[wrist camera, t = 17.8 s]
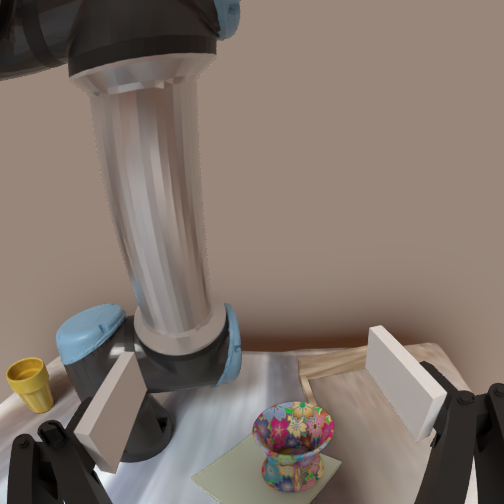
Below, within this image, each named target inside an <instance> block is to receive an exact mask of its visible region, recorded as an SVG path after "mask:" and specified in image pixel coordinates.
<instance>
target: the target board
mask: <svg viewBox="0 0 504 504" xmlns="http://www.w3.org/2000/svg"><path fill="white" fill-rule="evenodd" d="M320 457H321V458H322V460H323V463H324V473H323V475H322V477H321V479H320V480H319V481H318V482H317V483H316V484H315V485H314V486H312V487H310V488H308V489H306V490H303V491H299V492H283V491H279V490H276V489H274V488H272V487H271V486H269V485H268V484H267V483H266V481H265V480H264V478H263V476H262V465H263V462H264V461H265V459H266V458H267V456H266V453H265V452H264V451H263V450H262V449H261V448H259V446H258V445H257V444H256V442H255V440H254V438H253V433H251V434H250V435H249V436H248V437H246V438H245V439H244V440H243V441H241V442H240V443H239V444H237V445H236V446H235V447H234V448H232V449H231V450H230V451H228V452H227V453H226V454H224V455H223V456H222V457H220V458H219V459H217V460H216V461H215V462H213V463H212V464H210V465H209V466H208V467H206V468H205V469H203V470H202V471H200V472H199V473H197V474H196V475H194V476H193V477H191V479H192V481H193V482H194V483H196V484H197V485H198V486H199V487H200V488H202V489H203V490H204V491H205V492H207V493H208V494H209V495H210V496H212V497H213V498H214V499H216V500H217V501H218V502H220V503H221V504H310V502H311V501H312V500H313V499H314V498H315V497H316V496H317V494H318V493H319V492H320V491H321V490H322V489H323V487H324V486H325V485H326V484H327V482H328V481H329V480H330V479H331V477H332V476H333V475H334V474H335V472H336V471H337V470H338V468H339V467H340V466H341V463H342V461H339V460H336V459H334V458H331V457H329V456H326V455H324V454H321V453H320Z"/></svg>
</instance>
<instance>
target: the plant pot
mask: <svg viewBox="0 0 504 504" xmlns="http://www.w3.org/2000/svg"><path fill="white" fill-rule="evenodd" d="M6 378H7V380H8V382H9V384H10V386H11V388H12V389H13V391H14V392H16V393H18V394H19V396H20V397H21V398H22V399H23V401H24V402H25V403H26V404H27V405H28V407H29V408H30V409H31V410H32V411H33V412H35V413H44V412H46V411H48V410H49V409H51V407H52V406H53V404H54V400H53V397H52V393H51V390H50V386H49V382H48V379H49V374H48V372H47V369H46V367H45V364H44V362H43V361H42V360H41V359H39V358H35V357H32V358H31V357H30V358H25V359H22V360H19V361H17V362H16V363H14V364H13V365H11V366H10V367H9V368H8V370H7V371H6Z"/></svg>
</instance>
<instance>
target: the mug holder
mask: <svg viewBox="0 0 504 504" xmlns="http://www.w3.org/2000/svg"><path fill="white" fill-rule="evenodd" d="M367 348H368V345H367V346H363V347H358V348H353V349H348V350H343V351H338V352H332V353H327V354H321V355H315V356H309V357H303V358H298V372H299V380H300V383H301V386H302V390H303V393H304V396H305V399H306V402H307V403H310V404H314V405H316V406H317V404H316V401H315V398H314V396H313V393H312V390H311V388H310V385H309V382H308V380H309V379H315V378H320V377H326V376H331V375H336V374H341V373H345V372H350V371H354V370H359V369H363V368H366V367H365V364H366V356H367Z"/></svg>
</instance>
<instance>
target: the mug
mask: <svg viewBox="0 0 504 504" xmlns="http://www.w3.org/2000/svg"><path fill="white" fill-rule="evenodd" d="M252 433H253V438H254V440H255V442H256V444H257V445H258V446H259V448H261V449H262V450H263V451H264V452H265V453H266V456H267V458H266V459H265V461H264V462H263V465H262V476H263V478H264V480H265V481H266V483H267V484H268V485H269V486H271V487H272V488H274V489H276V490H279V491H283V492H299V491H303V490H306V489H308V488H310V487H312V486H314V485H315V484H316V483H317V482H318V481H319V480H320V479H321V477H322V475H323V473H324V463H323V460H322V458H321V457H320V452H321V450H322V449H323V448H324V447H325V446H326V445H327V444H328V443H329V442H330V440H331V438H332V436H333V433H334V423H333V420H332V418H331V416H330V415H329V414H328V413H327V412H326V411H325V410H324V409H322V408H321V407H319V406H316V405H314V404H310V403H306V402H286V403H281V404H278V405H275V406H273V407H270V408H268V409H267V410H265V411H264V412H263V413H261V414H260V415H259V416H258V418H257V419H256V421H255V422H254V425H253V430H252Z"/></svg>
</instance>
